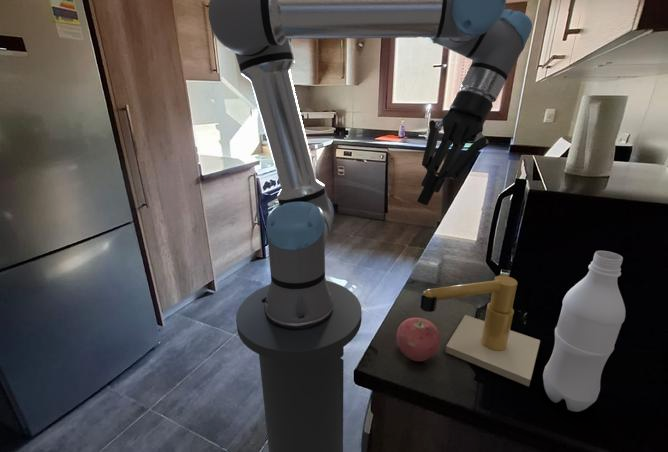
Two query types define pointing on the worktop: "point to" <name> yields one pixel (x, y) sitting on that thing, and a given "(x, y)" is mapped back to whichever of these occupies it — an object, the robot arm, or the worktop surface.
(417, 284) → the worktop surface
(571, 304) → the water bottle
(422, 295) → the nozzle
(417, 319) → the apple
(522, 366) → the tap stand
